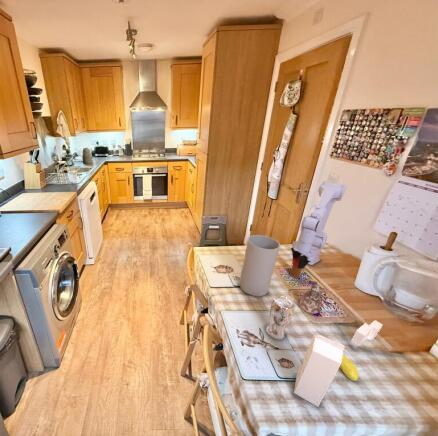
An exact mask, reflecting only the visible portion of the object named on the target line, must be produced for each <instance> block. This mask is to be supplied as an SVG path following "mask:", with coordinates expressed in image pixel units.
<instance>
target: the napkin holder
mask: <svg viewBox="0 0 438 436" xmlns="http://www.w3.org/2000/svg"><path fill="white" fill-rule="evenodd" d="M383 325H384V324H383V323H381V322H379V321H378V320H376V319H375V320H373V321H372V322H371V323H370V324H368V323H366V322H364V323H363V324H362V325H361V326H360V327H359V328H357V329H356V330H355V332H354V334H353V336H352V338H351V339H350V342H351V343H353V344H354V345H356V346H357V347H360V346H361V345H363V343H364V342H365V341H366V340H368V341H373V340H374V339H375V338H376V337H377V336H378V334H379V333H380V331H381V330H382V327H383ZM378 332H379V333H378ZM377 333H378V334H377Z"/></svg>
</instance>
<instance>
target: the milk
mask: <svg viewBox="0 0 438 436" xmlns="http://www.w3.org/2000/svg"><path fill="white" fill-rule="evenodd" d="M345 348H346V346H345V345H344V344H342V343H340V342H338V341H336V340H333V339H330V338H328V337H327V336H326V337H325V336H323V335H321V334H319V333H317V334H313V336H312V338H311V341H310V344H309V346H308V348H307V350H306V352H305V355H304V357H303V360H302V362H301V364H300V367H299V369H298V372H297V374H296V376H295V386H294V390H293V391H294V392H293V394H295V395H296V396H298V397H300V398H302V399H303V400H305V401H307V402H308V403H310V404H312V405H314V406H316V407H317V408H319V407H320V404H321V403H322V401H323V399H324V397H325V395H326V394H327V391H328V389H329V387H330V386H331V384H332V382H333V380H334V378H335V376H336V374H337V372H338V370H339V369H340V365H341V362H342V356H343V355H344V350H345Z"/></svg>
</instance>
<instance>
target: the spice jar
mask: <svg viewBox="0 0 438 436" xmlns="http://www.w3.org/2000/svg"><path fill="white" fill-rule="evenodd" d="M302 270H303V269H299V268H298V267H295V266H294V265H293V264H292V266H291V269H290V273H289V275H290V276H291V278H294V279H299V278H300V277H301V273H302Z"/></svg>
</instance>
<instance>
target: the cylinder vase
mask: <svg viewBox="0 0 438 436" xmlns="http://www.w3.org/2000/svg"><path fill="white" fill-rule="evenodd" d="M280 248H281V244H280V242H279V241H278V240H276V239H275V238H273V237H270V236H268V235H263V234H253V235H250V236H249V237H248V238H247V242H246V247H245V252H244V256H243V263H242V267H241V270H240V271H241V272H240V277H239V281H238V285H239V287H240V289H241V291H243V292H244V293H246V294H248V295H250V296H253V297H264V296H265V295H267V294H268V292H269V288H270V285H271V281H272V277H273V274H274V270H275V266H276V263H277V259H278V255H279V252H280Z"/></svg>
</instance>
